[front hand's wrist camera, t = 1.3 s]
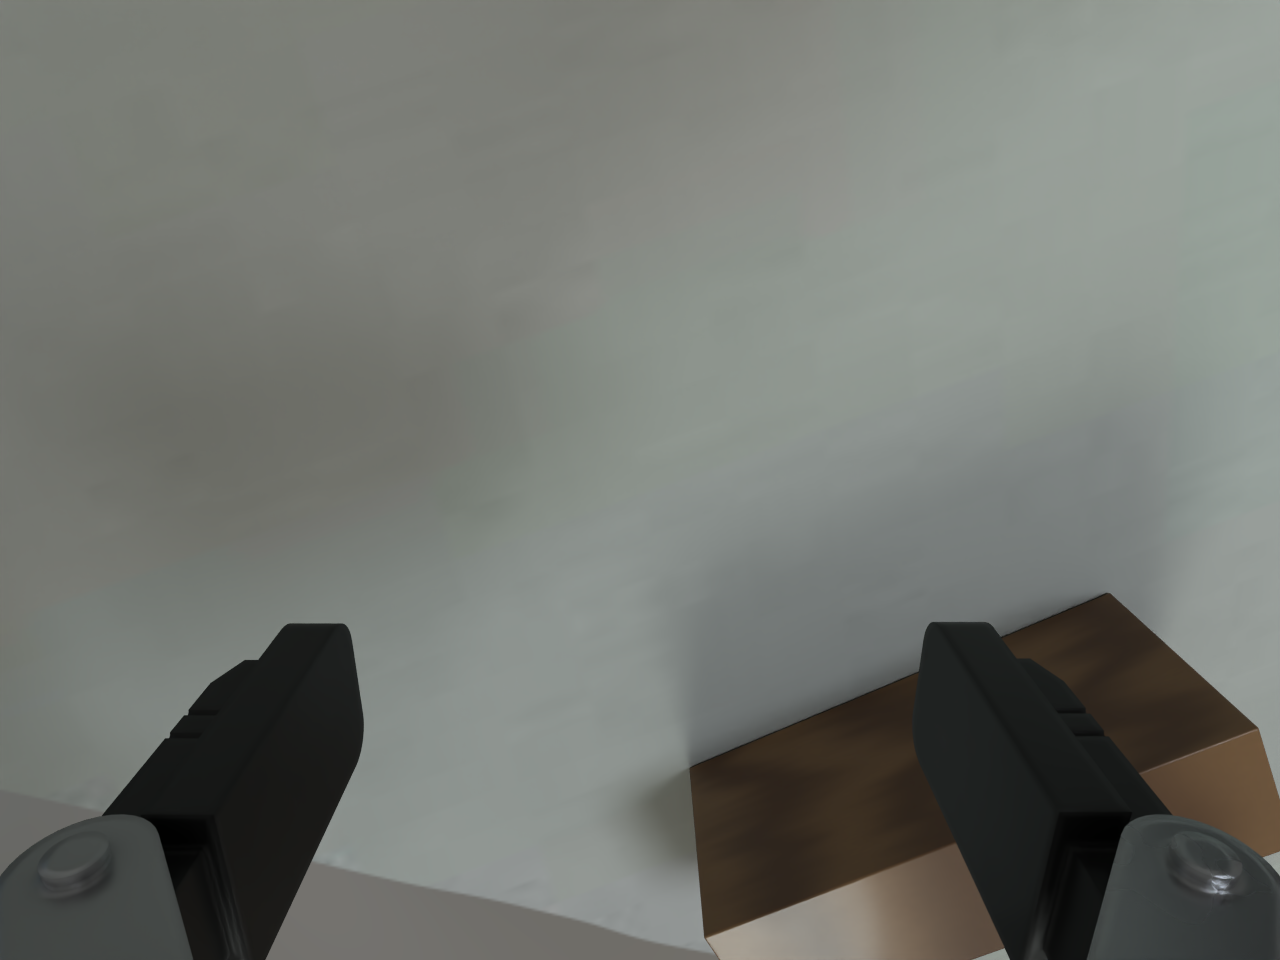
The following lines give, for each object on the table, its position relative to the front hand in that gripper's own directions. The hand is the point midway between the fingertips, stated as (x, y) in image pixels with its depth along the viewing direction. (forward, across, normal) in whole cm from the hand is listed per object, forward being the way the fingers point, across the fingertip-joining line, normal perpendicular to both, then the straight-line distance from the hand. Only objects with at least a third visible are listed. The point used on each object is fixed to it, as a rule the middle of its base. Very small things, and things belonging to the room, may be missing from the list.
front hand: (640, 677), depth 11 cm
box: (+23, +13, -19) cm, 33 cm away
